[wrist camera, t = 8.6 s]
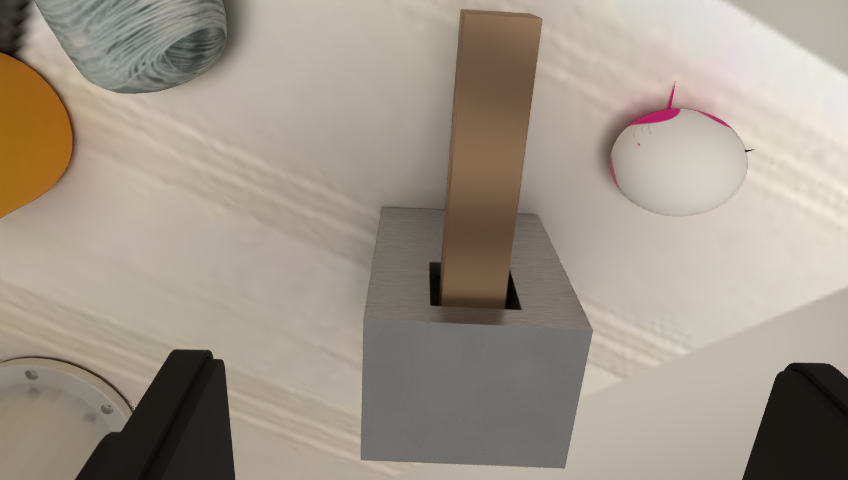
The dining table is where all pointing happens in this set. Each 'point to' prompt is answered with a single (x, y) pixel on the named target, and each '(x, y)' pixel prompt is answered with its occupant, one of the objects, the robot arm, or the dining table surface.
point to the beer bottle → (29, 135)
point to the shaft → (486, 154)
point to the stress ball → (678, 162)
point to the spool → (138, 40)
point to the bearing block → (469, 354)
